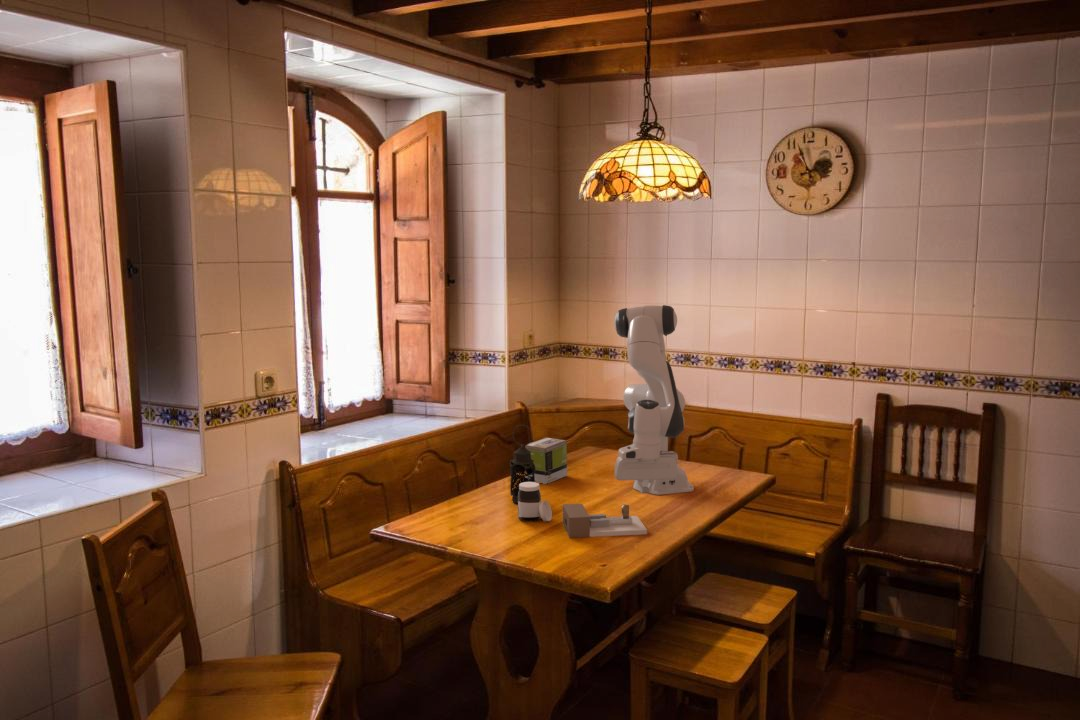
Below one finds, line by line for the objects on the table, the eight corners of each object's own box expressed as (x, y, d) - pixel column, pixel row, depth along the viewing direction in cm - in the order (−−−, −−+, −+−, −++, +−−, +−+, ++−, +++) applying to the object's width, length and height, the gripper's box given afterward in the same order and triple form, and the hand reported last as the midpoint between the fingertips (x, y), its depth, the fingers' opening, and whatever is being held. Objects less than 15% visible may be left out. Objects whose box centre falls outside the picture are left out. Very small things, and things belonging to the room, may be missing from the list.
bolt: (630, 521, 283) (630, 504, 282) (632, 524, 280) (632, 506, 279) (600, 522, 281) (600, 505, 281) (601, 525, 279) (601, 507, 278)
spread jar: (517, 513, 296) (517, 480, 295) (550, 512, 297) (550, 479, 295) (519, 525, 284) (518, 490, 283) (553, 524, 285) (553, 490, 284)
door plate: (636, 520, 289) (637, 501, 288) (647, 534, 275) (647, 514, 274) (562, 523, 286) (562, 504, 285) (569, 537, 272) (569, 517, 271)
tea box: (547, 472, 348) (547, 436, 346) (567, 476, 342) (567, 439, 340) (524, 481, 336) (524, 443, 334) (545, 485, 330) (545, 447, 328)
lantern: (505, 503, 308) (504, 426, 304) (514, 496, 316) (514, 421, 312) (531, 506, 304) (530, 428, 300) (540, 499, 313) (539, 423, 309)
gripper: (675, 448, 283) (674, 489, 285) (613, 449, 280) (612, 490, 282) (680, 452, 277) (679, 495, 278) (617, 453, 274) (616, 496, 276)
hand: (645, 492), depth 280 cm, fingers closed
